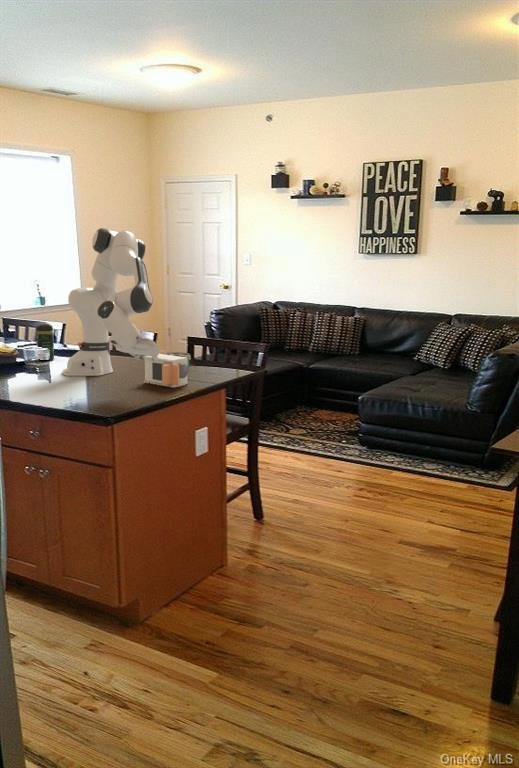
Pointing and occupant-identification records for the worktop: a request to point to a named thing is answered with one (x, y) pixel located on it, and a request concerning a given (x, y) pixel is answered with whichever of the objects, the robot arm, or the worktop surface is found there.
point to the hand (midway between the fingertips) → (147, 358)
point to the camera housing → (155, 369)
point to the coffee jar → (45, 338)
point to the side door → (170, 374)
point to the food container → (181, 356)
